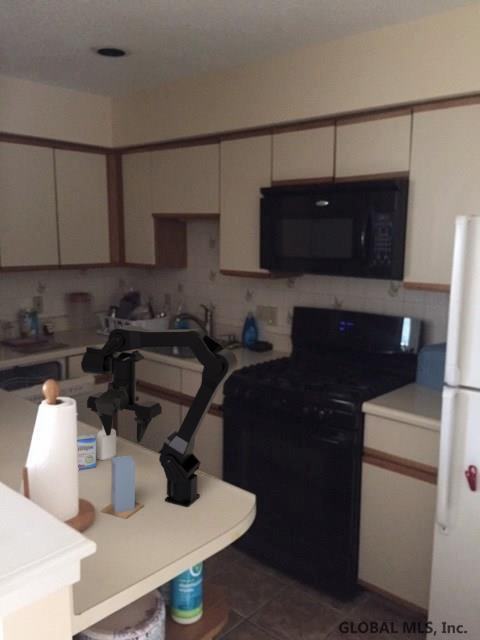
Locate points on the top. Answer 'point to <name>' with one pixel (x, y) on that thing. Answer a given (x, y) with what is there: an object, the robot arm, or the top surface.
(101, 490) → the top surface
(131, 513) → the pen stand
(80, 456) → the medicine box
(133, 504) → the tall blue pillar
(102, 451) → the eye dropper bottle
